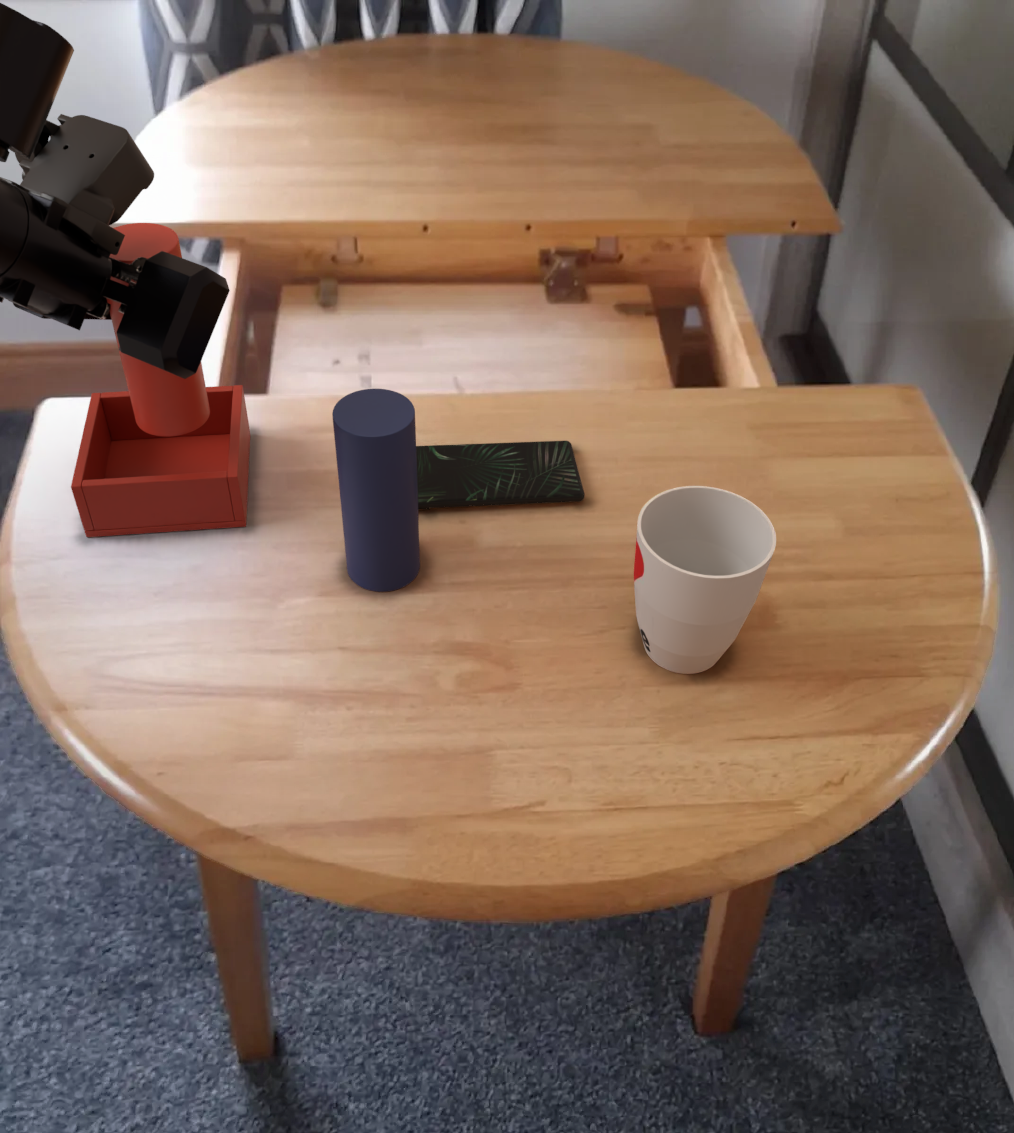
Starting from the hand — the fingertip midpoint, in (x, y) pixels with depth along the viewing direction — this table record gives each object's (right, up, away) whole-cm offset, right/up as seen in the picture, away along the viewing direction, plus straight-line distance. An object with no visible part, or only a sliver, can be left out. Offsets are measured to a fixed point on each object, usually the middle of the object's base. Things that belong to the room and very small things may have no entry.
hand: (170, 323), depth 74 cm
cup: (+34, -21, -1) cm, 40 cm away
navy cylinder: (+14, -16, +3) cm, 21 cm away
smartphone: (+20, -10, +10) cm, 25 cm away
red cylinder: (-1, -6, +4) cm, 7 cm away
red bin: (-3, -10, +9) cm, 14 cm away
